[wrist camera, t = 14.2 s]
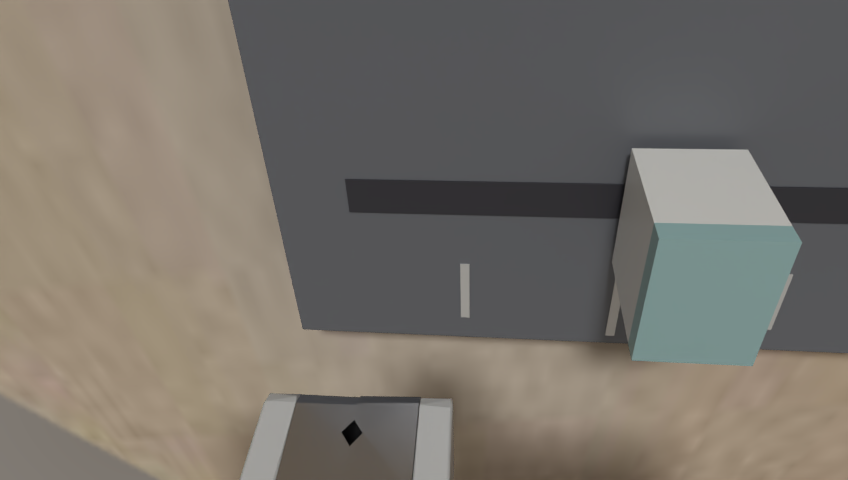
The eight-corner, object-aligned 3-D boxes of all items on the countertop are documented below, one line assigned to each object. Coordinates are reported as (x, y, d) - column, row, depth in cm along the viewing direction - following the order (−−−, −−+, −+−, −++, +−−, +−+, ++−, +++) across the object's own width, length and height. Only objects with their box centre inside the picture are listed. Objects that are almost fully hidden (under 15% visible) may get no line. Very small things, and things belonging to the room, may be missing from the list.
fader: (611, 262, 20) (631, 360, 17) (631, 148, 17) (658, 238, 14) (713, 265, 20) (752, 366, 16) (748, 149, 17) (802, 242, 14)
